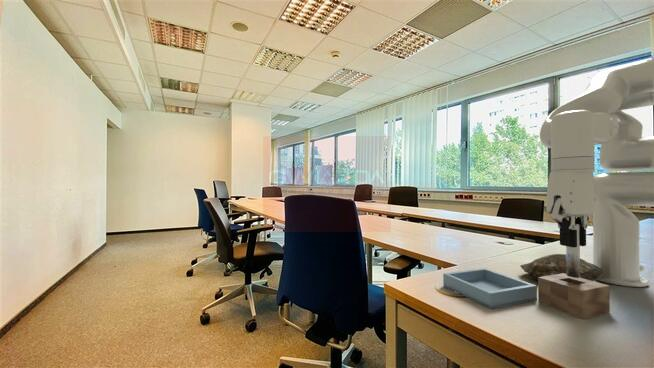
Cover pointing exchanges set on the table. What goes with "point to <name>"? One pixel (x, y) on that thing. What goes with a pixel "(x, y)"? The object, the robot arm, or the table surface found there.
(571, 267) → the steel pin
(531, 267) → the crinkled plastic bag
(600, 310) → the pin holder
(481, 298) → the tray
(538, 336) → the table surface
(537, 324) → the table surface
